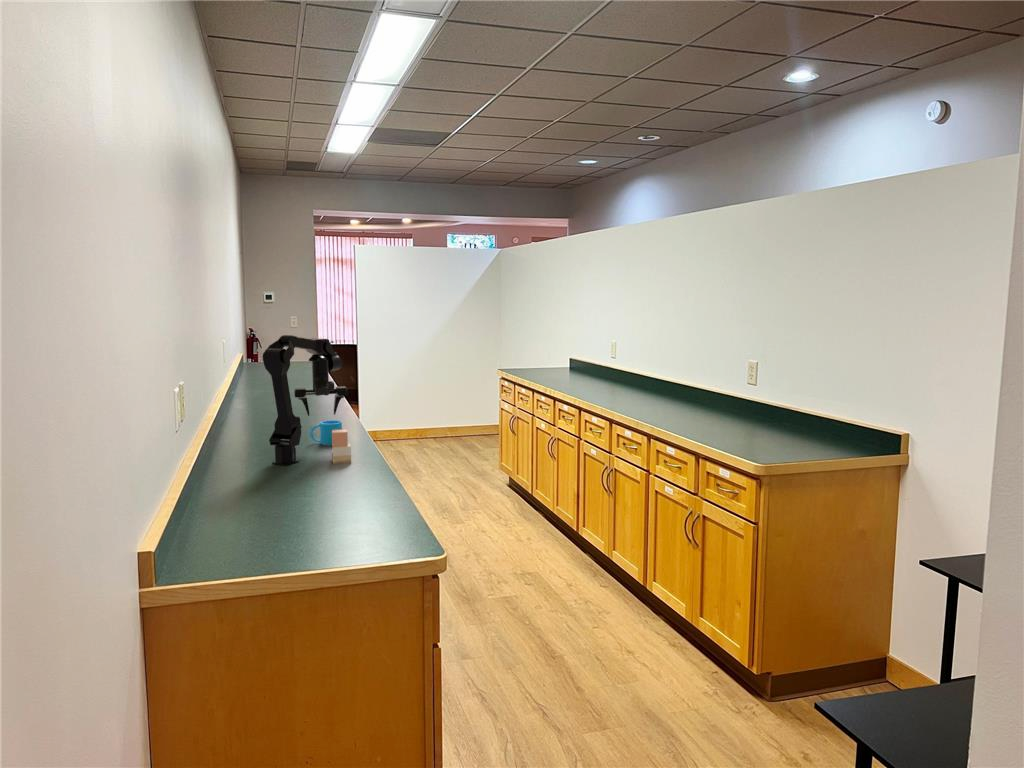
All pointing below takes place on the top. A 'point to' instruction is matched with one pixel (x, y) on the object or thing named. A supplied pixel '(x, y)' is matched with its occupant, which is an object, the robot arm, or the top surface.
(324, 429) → the mug
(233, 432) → the top surface
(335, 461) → the slab lower
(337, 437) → the coral cube
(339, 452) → the slab upper
